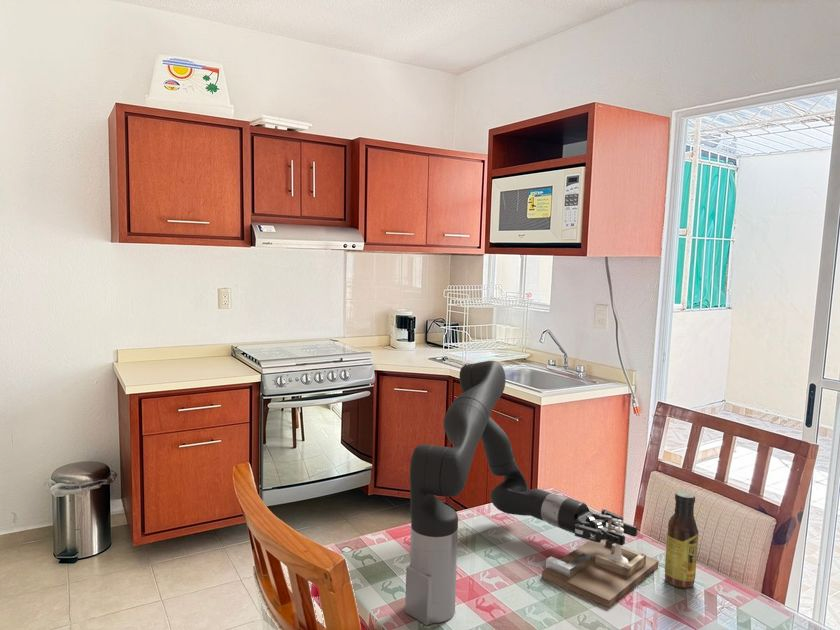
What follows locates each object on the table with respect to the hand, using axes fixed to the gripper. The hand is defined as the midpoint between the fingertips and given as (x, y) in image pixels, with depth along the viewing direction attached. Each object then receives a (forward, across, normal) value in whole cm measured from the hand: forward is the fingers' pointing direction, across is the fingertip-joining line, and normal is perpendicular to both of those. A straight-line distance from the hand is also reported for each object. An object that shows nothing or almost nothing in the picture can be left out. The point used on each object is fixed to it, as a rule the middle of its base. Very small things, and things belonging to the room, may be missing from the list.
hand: (630, 536), depth 135 cm
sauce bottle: (+10, +5, +9) cm, 14 cm away
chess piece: (-3, 0, +7) cm, 8 cm away
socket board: (-4, -4, +9) cm, 11 cm away
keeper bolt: (-10, -10, +7) cm, 16 cm away
